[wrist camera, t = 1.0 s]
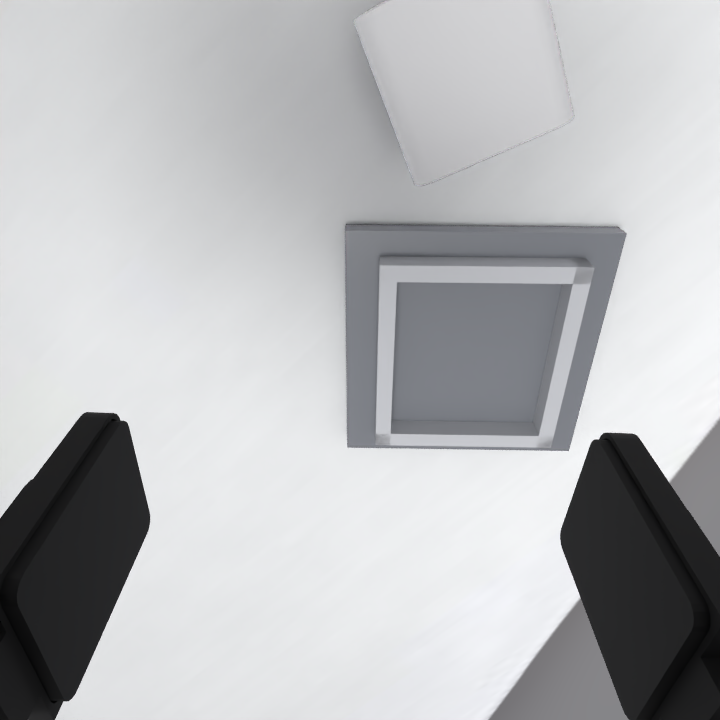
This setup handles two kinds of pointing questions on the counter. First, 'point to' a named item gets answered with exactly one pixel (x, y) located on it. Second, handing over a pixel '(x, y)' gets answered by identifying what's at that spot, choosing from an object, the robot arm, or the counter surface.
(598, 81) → the counter surface
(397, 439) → the mounting plate
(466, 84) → the security camera
